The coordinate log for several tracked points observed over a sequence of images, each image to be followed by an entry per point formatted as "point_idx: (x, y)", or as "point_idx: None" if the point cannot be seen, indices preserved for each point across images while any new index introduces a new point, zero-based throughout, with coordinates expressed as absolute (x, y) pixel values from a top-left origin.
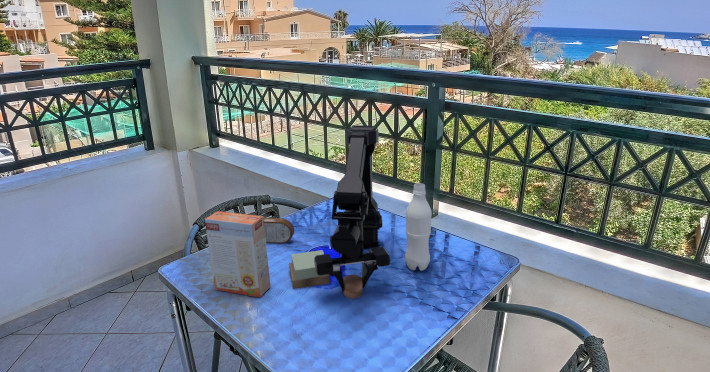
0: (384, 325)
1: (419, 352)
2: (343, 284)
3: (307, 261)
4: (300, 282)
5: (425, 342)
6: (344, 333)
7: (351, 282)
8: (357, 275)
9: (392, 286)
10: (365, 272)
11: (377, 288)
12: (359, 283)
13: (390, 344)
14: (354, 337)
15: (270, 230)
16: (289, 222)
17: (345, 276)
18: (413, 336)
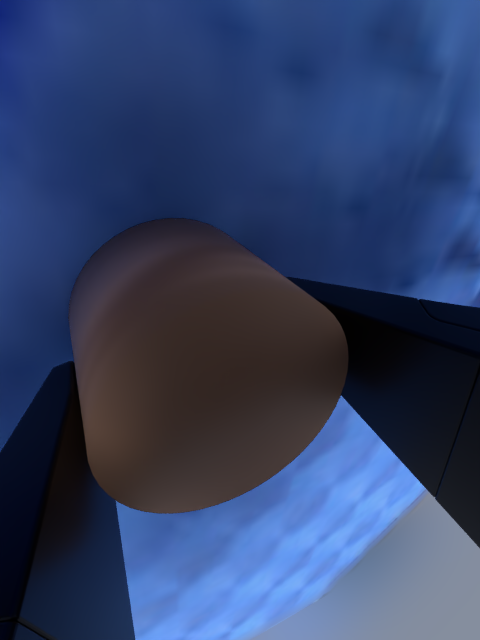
0: (311, 508)
1: (365, 546)
2: (115, 533)
3: None
4: None
5: (393, 513)
6: (143, 615)
7: (219, 472)
8: (312, 314)
9: (466, 197)
10: (464, 501)
11: (372, 227)
12: (299, 447)
13: (305, 563)
14: (188, 605)
15: None
16: None
17: (120, 372)
18: (377, 509)
